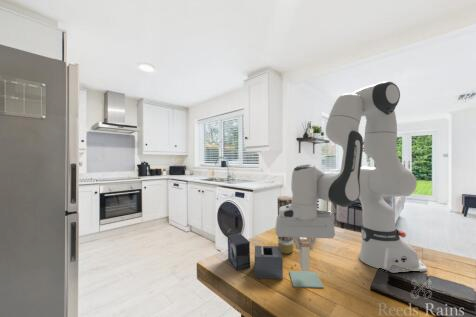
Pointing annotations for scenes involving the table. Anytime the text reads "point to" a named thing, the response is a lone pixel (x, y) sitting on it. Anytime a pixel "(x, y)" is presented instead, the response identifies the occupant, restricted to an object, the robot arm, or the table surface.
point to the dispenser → (268, 262)
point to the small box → (239, 251)
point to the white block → (304, 254)
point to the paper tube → (285, 242)
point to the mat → (305, 279)
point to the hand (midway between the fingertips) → (304, 249)
